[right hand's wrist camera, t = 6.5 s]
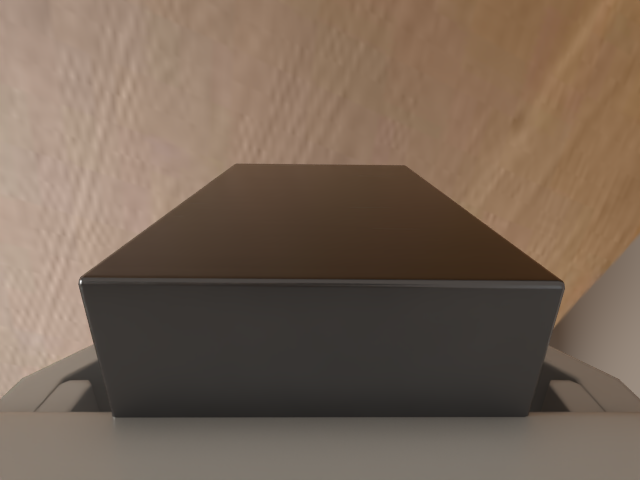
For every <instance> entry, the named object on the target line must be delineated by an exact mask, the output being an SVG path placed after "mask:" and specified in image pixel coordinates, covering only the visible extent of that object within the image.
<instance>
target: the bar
mask: <svg viewBox="0 0 640 480" xmlns="http://www.w3.org/2000/svg"><path fill="white" fill-rule="evenodd" d="M79 288H80V292H81V296H82V300H83V304H84V308H85V312H86V316H87V319H88V323H89V327H90V331H91V335H92V339H93V343H94V347H95V350H96V354H97V358H98V362H99V366H100V370H101V374H102V378H103V382H104V385H105V389H106V393H107V397H108V401H109V405H110V409H111V413H112V416H113V417H116V418H238V417H526V416H528V415H529V412H530V408H531V405H532V401H533V398H534V394H535V391H536V387H537V384H538V380H539V377H540V373H541V370H542V366H543V363H544V359H545V356H546V352H547V349H548V345H549V342H550V338H551V335H552V332H553V328H554V325H555V321H556V318H557V314H558V311H559V307H560V304H561V300H562V297H563V293H564V290H565V286H564V283H563V281H562V280H561V279H559V278H558V277H556V276H555V275H554V274H552V273H551V272H550V271H548V270H547V269H546V268H544V267H543V266H541V265H540V264H539V263H537V262H536V261H535V260H533V259H532V258H531V257H529V256H528V255H526V254H525V253H524V252H522V251H521V250H520V249H518V248H517V247H516V246H514V245H513V244H511V243H510V242H509V241H507V240H506V239H505V238H503V237H502V236H501V235H499V234H498V233H496V232H495V231H494V230H492V229H491V228H490V227H488V226H487V225H486V224H484V223H483V222H481V221H480V220H479V219H477V218H476V217H475V216H473V215H472V214H471V213H469V212H468V211H466V210H465V209H464V208H462V207H461V206H460V205H458V204H457V203H456V202H454V201H453V200H452V199H450V198H449V197H447V196H446V195H445V194H443V193H442V192H441V191H439V190H438V189H437V188H435V187H434V186H432V185H431V184H430V183H428V182H427V181H426V180H424V179H423V178H422V177H420V176H419V175H417V174H416V173H415V172H413V171H412V170H411V169H409V168H408V167H407V166H404V165H312V164H234V165H233V166H232V167H230V168H229V169H228V170H226V171H225V172H224V173H222V174H221V175H219V176H218V177H217V178H215V179H214V180H213V181H211V182H210V183H208V184H207V185H206V186H204V187H203V188H202V189H200V190H199V191H198V192H196V193H195V194H193V195H192V196H191V197H189V198H188V199H187V200H185V201H184V202H182V203H181V204H180V205H178V206H177V207H176V208H174V209H173V210H172V211H170V212H169V213H167V214H166V215H165V216H163V217H162V218H161V219H159V220H158V221H156V222H155V223H154V224H152V225H151V226H150V227H148V228H147V229H146V230H144V231H143V232H141V233H140V234H139V235H137V236H136V237H135V238H133V239H132V240H130V241H129V242H128V243H126V244H125V245H124V246H122V247H121V248H120V249H118V250H117V251H115V252H114V253H113V254H111V255H110V256H109V257H107V258H106V259H104V260H103V261H102V262H100V263H99V264H98V265H96V266H95V267H94V268H92V269H91V270H89V271H88V272H87V273H85V274H84V275H83V276H81V277H80V279H79Z"/></svg>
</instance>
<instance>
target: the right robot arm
mask: <svg viewBox="0 0 640 480" xmlns="http://www.w3.org/2000/svg"><path fill="white" fill-rule="evenodd" d="M0 480H640V399H639V398H638V397H637V396H636V395H635V394H634V393H633V392H632V391H631V390H630V389H629V388H628V387H627V386H625V385H624V384H623V383H622V382H621V381H620V380H619V379H617V378H615V377H613V376H611V375H609V374H607V373H605V372H603V371H601V370H598V369H597V368H594V367H592V366H590V365H588V364H586V363H584V362H582V361H580V360H578V359H576V358H574V357H572V356H569V355H567V354H565V353H563V352H561V351H559V350H557V349H555V348H553V347H551V346H549V345H548V349H547V352H546V356H545V359H544V363H543V366H542V370H541V373H540V377H539V380H538V384H537V387H536V391H535V394H534V398H533V401H532V405H531V408H530V412H529V415H528V416H526V417H238V418H116V417H113V416H112V413H111V409H110V405H109V401H108V397H107V393H106V389H105V385H104V382H103V378H102V374H101V370H100V366H99V362H98V358H97V354H96V350H95V347H94V344H93V345H91V346H89V347H87V348H85V349H83V350H81V351H79V352H77V353H74V354H72V355H70V356H68V357H66V358H64V359H62V360H60V361H58V362H56V363H54V364H52V365H49V366H47V367H45V368H43V369H41V370H39V371H37V372H35V373H33V374H31V375H29V376H26V377H24V378H22V379H21V380H20V381H19V382H18V383H17V384H16V385H15V386H14V387H13V388H12V389H10V390H9V391H8V392H7V393H6V394H5V395H4V396H3V397H2V398H1V399H0Z"/></svg>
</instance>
